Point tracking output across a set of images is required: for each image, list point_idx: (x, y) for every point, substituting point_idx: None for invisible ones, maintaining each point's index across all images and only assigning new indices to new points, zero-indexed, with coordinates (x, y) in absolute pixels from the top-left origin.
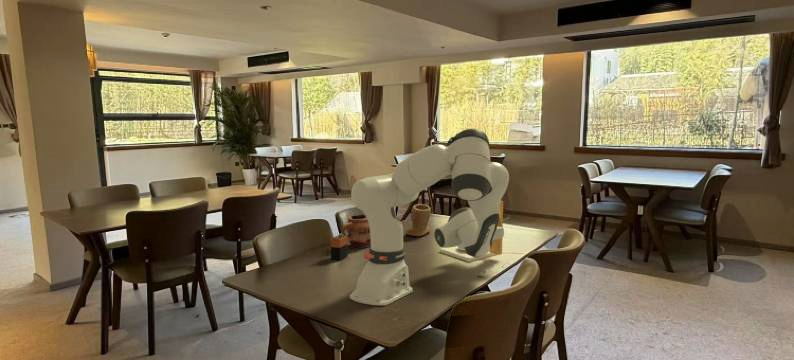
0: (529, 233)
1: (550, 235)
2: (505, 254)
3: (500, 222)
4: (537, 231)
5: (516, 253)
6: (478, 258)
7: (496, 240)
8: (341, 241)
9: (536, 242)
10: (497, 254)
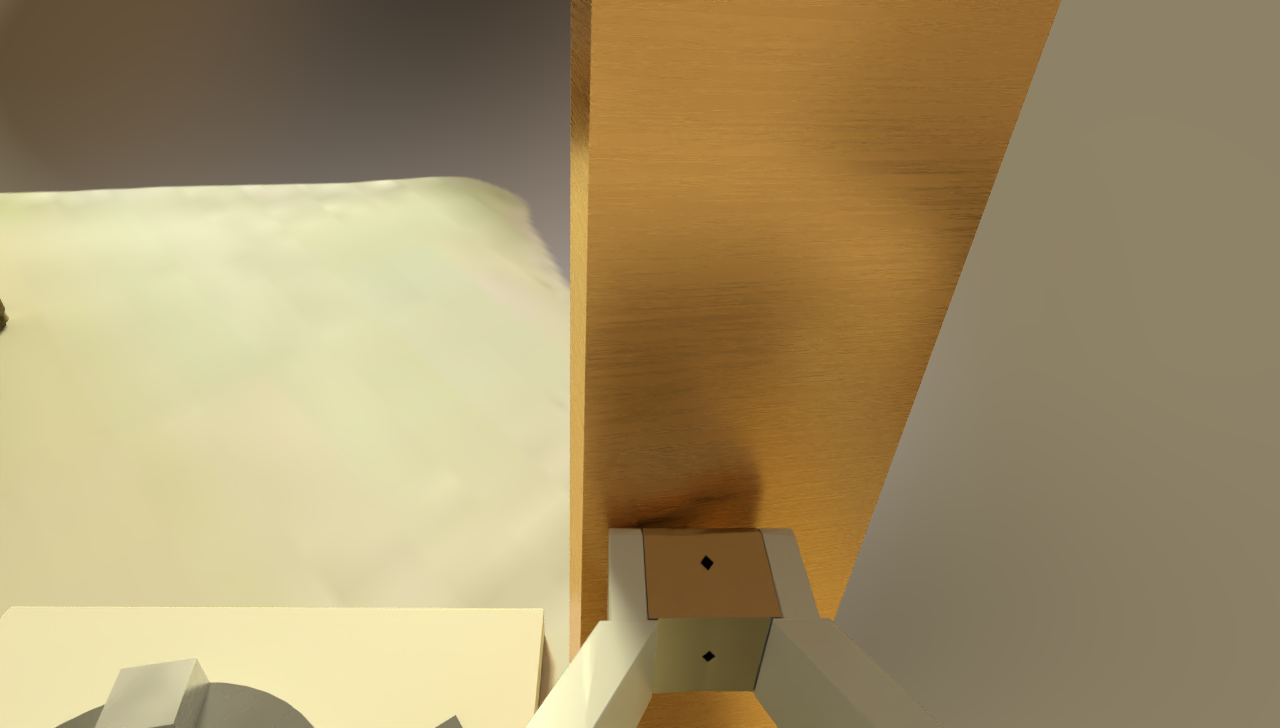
0: (407, 218)
1: (520, 202)
2: None
3: (892, 435)
4: (424, 191)
5: None
6: None
7: (724, 715)
8: None
9: (549, 286)
10: (541, 667)
